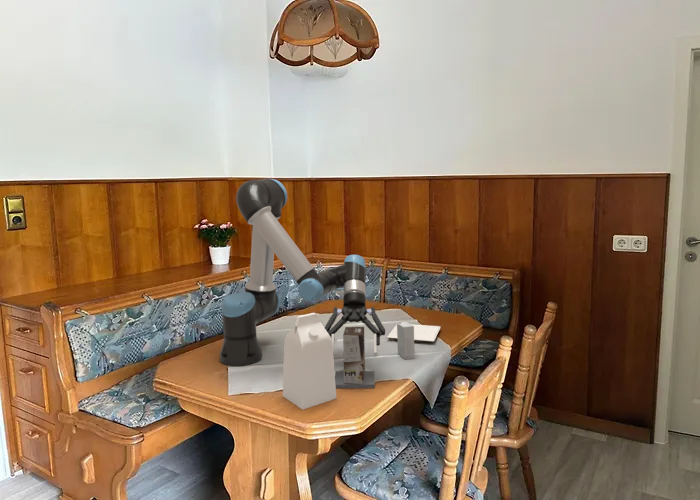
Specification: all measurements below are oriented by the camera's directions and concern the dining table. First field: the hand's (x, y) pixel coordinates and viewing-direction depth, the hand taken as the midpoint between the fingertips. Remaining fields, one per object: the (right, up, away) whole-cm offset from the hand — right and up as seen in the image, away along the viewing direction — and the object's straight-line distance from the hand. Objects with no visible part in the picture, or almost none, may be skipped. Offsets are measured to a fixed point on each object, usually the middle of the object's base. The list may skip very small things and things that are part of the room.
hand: (353, 354), depth 173 cm
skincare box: (+19, -6, +26) cm, 33 cm away
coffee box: (0, -9, +4) cm, 9 cm away
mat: (0, -10, +5) cm, 11 cm away
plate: (+25, -2, +49) cm, 55 cm away
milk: (-14, -12, -7) cm, 19 cm away
